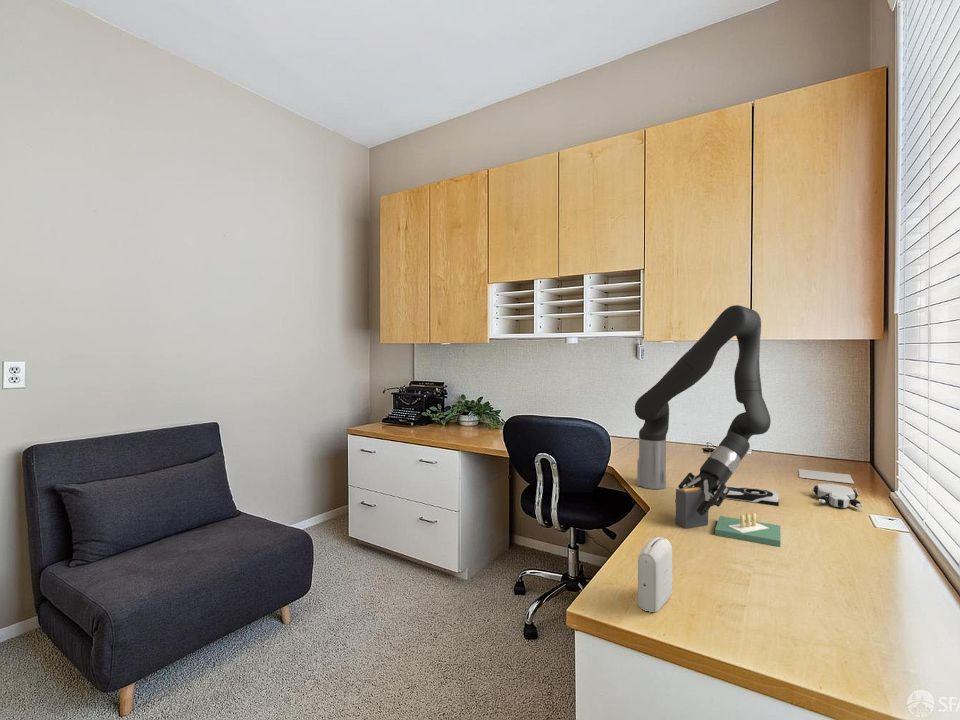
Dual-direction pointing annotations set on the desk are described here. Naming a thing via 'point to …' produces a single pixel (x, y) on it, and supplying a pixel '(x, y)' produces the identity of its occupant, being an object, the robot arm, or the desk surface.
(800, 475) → the paper stack
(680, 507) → the block
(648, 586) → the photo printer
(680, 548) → the desk surface
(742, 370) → the robot arm
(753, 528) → the header board
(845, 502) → the robot toy
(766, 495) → the graphics card
